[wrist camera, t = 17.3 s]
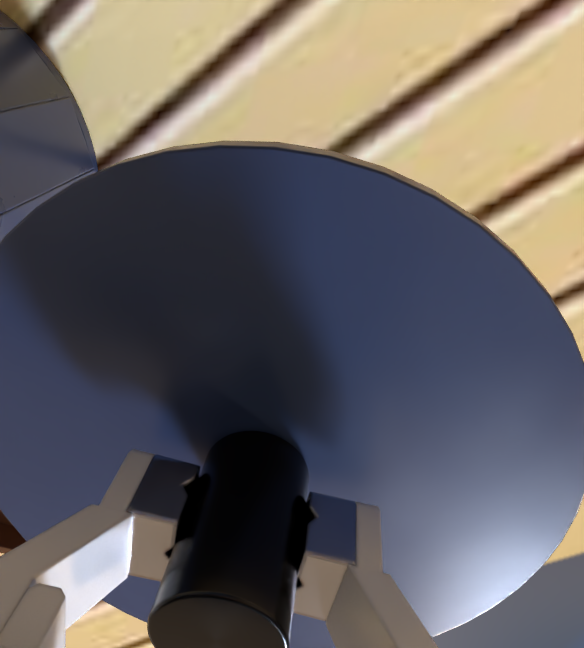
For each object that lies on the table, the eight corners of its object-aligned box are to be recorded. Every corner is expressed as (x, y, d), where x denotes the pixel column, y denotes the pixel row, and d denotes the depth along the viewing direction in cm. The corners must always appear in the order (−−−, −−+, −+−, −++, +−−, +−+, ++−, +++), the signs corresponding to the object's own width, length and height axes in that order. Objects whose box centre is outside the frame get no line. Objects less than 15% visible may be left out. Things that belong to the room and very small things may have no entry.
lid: (-1, 558, 17) (-130, 748, 12) (-50, 54, 10) (-387, 71, 5) (449, 664, 17) (480, 892, 12) (717, 233, 10) (1010, 399, 5)
